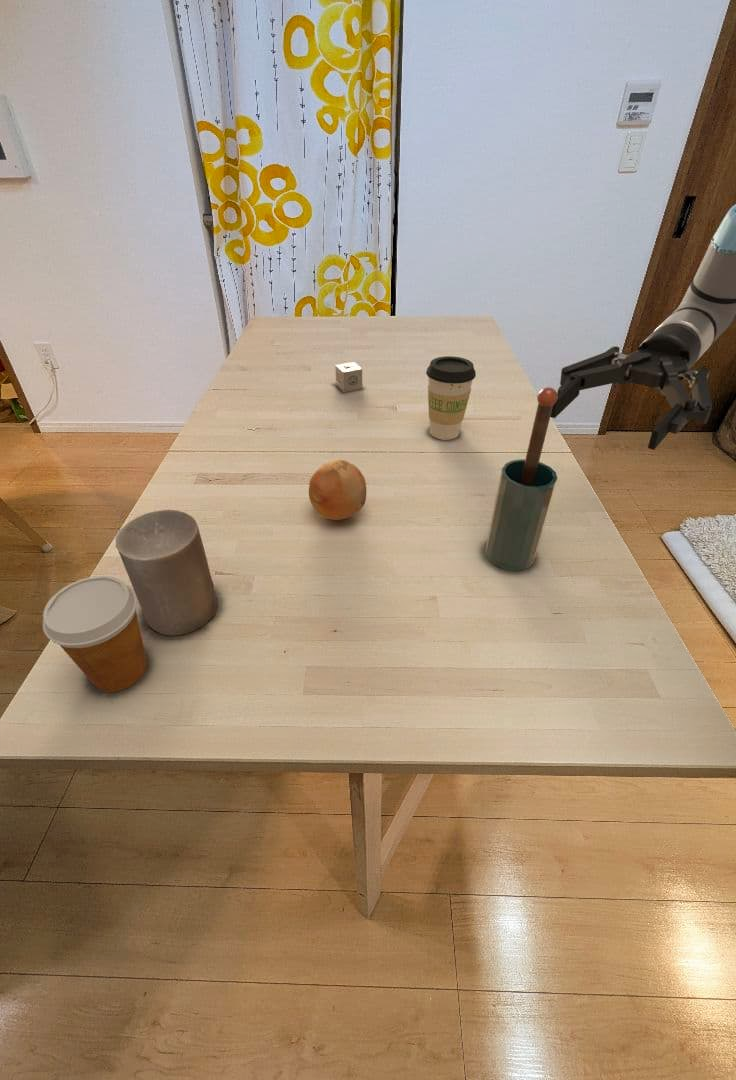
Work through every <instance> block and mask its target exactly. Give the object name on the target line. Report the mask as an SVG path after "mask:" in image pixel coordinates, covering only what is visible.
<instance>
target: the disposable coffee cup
mask: <svg viewBox="0 0 736 1080" xmlns="http://www.w3.org/2000/svg"><path fill="white" fill-rule="evenodd" d="M137 605H138V599H137V597H136V594H135V591H134V589H133V588H131V587H130V586H129V585H128V584H126V583H125V582H124V581H122V580H121V579H120V578H117V577H115V576H109V575H95V576H89V577H85V578H82V579H78V580H76V581H73V582H71V583H69V584H67V585H66V586H63V587H62V588H61V589H60V590H59V591H57V592H56V593H55V594H54V595H52V596H51V598H50V599H49V600H48V601H47V603H46V605H45V607H44V609H43V614H42V619H43V620H42V630H43V633H44V635H45V636H46V637H47V638H48V639H49V640H50V641H51V642H53V643H54V644H57V645H58V646H59V647H60V648H61V649H62V650H63V651H64V652H65V653H66V655H68V657H69V658H70V659H71V660H72V661H73V662H74V664H75V665H76V666H77V667H78V668H79V669H80V670H81V671H82V672H83V674H84V675H85V676H86V678H88V680H89V681H90V682H91V683H92V684H93V686H94V687H96V689H98V690H99V691H101V692H105V693H116V692H121V691H123V690H126V689H128V688H130V687H132V686H133V685H134V684H136V683H137V682H139V680H141V678H142V677H143V676H144V674H145V672H146V671H147V666H148V660H147V657H146V656H147V655H146V652H145V647H144V643H143V638H142V633H141V628H140V624H139V623H140V622H139V619H138V614H137V607H138V606H137Z"/></svg>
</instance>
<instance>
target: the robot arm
mask: <svg viewBox="0 0 736 1080" xmlns="http://www.w3.org/2000/svg"><path fill="white" fill-rule="evenodd" d="M735 319H736V203H735V204H734V205H732V206H731V207H730V208H729V210H728V211H727V213H726V215H725V216H724V218H722V221H721V222H720V224H719V226H718V228H717V230H716V231H715V232H714V234H713V236H712V238H711V240H710V243H709V246H708V248H707V249H706V251H705V254H704V256H703V259H702V260H701V262H700V264H699V267H698V269H697V271H696V273H695V275H694V277H693V279H692V281H691V282H690V284H689V286H688V288H687V290H686V292H685V294H684V296H683V298H682V300H681V302H680V304H679V305H678V307H676V309H675V310H674V311H673V312H672V313H671V314H670V315H669V316H668V317H667V318H666V319H665V320H664V321H662V323H660V324H659V325H658V327H656V328H655V329H654V331H652V333H650V334H649V335H648V336H647V337H646V338H645V339H644V340H643V341H642V343H640V345H639V346H638V348H637V349H636V350H635V351H634V352H631V353H629V354H625V353H621V352H620V347H619V346H618V345H617V346H615V345H614V346H611V347H610V348H609V349H607V350H606V351H604V352H602V353H600V354H596V355H594V356H591V357H588V358H586V359H583V360H580V361H578V362H575V363H572V364H569V365H566V366H564V367H562V368H561V369H560V371H561V372H560V381H559V385H560V386H559V387H558V388H557V395H558V398H557V401H556V403H555V404H554V405H553V408H552V412H551V416H550V418H551V419H556V418H557V417H558V416H559V415H560V414H561V413H562V412H563V411H564V410H565V409H566V408H568V406H569V405H570V404H571V403H573V402H574V401H575V399H577V397H579V396H580V391H584V390H587V389H593V388H598V387H602V386H606V385H607V386H608V385H612V384H618V385H619V386H620V385H626V384H630V383H631V384H635V385H641V386H645V387H647V388H651V389H654V388H657V389H658V391H659V392H660V394H661V396H662V397H665V399H666V400H667V402H668V404H669V406H670V407H671V409H670V410H669V411H668V412H667V413H666V414H665V415H664V416H663V418H662V419H661V420H660V421H659V422H658V424H657V425H656V426H655V427H654V428H653V429H652V431H651V435H650V438H649V442H648V446H647V449H649V450H653V451H654V450H656V448H657V447H658V446H659V445H660V444H661V443H662V441H664V439H665V438H666V437H667V435H668V434H669V433H671V434H675V435H677V434H678V433H680V431H681V430H682V429H683V428H684V427H685V425H686V424H689V423H690V422H692V421H694V422H695V423H696V424H697V425H706V424H707V422H708V420H709V417H710V414H711V411H712V409H713V403H712V396H711V391H710V387H709V380H708V379H709V375H710V372H711V367H710V366H708V365H707V366H706V365H704V366H701V367H700V368H699V369H698V370H696V369H691V368H693V366H694V365H695V364H696V362H697V361H699V359H700V358H701V357H702V356H703V355H704V354H705V352H707V351H708V350H709V348H710V347H711V346H712V344H714V343H715V342H716V341H717V339H718V338H719V337H721V335H722V334H723V333H724V332H725V331H726V330H728V329H729V328H730V327H732V325H733V323H734V321H735ZM625 374H626V375H625ZM684 380H686V381H687V382H688V384H689V388H690V389H691V396H690V395H689V393H688V391H687V389H686V388H685V387H684V385H683V383H682V381H684Z"/></svg>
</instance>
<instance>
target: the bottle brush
mask: <svg viewBox="0 0 736 1080" xmlns="http://www.w3.org/2000/svg"><path fill="white" fill-rule="evenodd" d="M557 393H558V391H557V390H556V389H555V388H553V387H551V386H549V387H543V388H542V389H540V391H538V393H537V397H536V400H537V406H536V407H537V408H536V411H535V416H534V420H533V425H532V429H531V434H530V438H529V441H528V442H529V443H528V446H527V451H526V456H525V464H524V468H523V472H522V477H521V481H520V484H522V485H526V486H533V484H534V480H535V476H536V472H537V468H538V464H539V462H540V459H541V456H542V452H543V448H544V443H545V440H546V437H547V431H548V428H549V424H550V420H551V417H550V416H551V412H552V408H553V405H554V404H555V403H556V401H557V398H558V395H557Z"/></svg>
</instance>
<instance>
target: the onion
mask: <svg viewBox="0 0 736 1080" xmlns="http://www.w3.org/2000/svg"><path fill="white" fill-rule="evenodd" d="M308 498H309V499H308V500H309V502H310V504H311V506H312V508H313V509H314V510H315V511H316V513H317V514H319V515H320V516H321V517H323V518H325V519H328V520H332V521H334V520H335V521H339V520H345V519H347V518H351V517H353V516H354V515H356V514H357V513H359V512H360V511H361V510H362V508H363V507H364V505H365V504H366V500H367V482H366V477H364V474H363V473H362V471H361V470H360V469H359V468H358V467H357V466H356V465H355V464H353V463H351V462H350V461H347V460H344V459H334V460H331V461H328V462H325V463H324V464H322V465H321V466H319V468H317V470H315V472H314V473H313V474H312V476H311V477H310V479H309V485H308Z"/></svg>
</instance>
